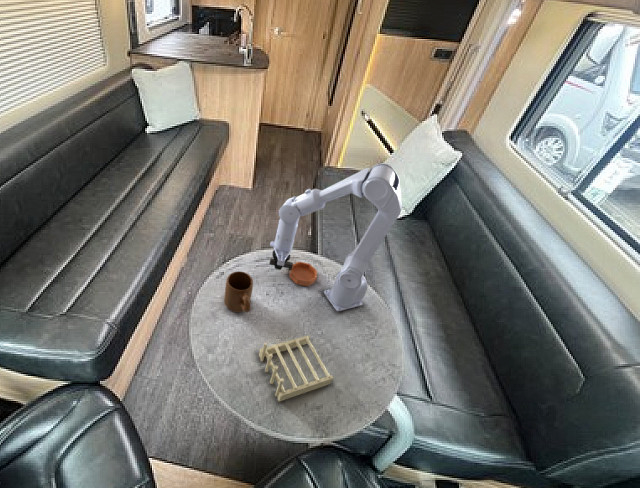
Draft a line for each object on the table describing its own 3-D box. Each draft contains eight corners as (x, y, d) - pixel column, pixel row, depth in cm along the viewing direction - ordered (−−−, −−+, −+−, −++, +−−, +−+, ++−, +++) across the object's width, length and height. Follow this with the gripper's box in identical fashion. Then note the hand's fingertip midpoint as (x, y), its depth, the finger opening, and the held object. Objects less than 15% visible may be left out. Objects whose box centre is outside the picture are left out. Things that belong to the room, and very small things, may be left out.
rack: (306, 341, 87) (312, 325, 83) (330, 383, 78) (338, 368, 74) (257, 355, 82) (261, 339, 78) (278, 402, 73) (283, 386, 69)
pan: (315, 269, 110) (318, 259, 107) (315, 288, 103) (319, 278, 100) (269, 260, 111) (271, 250, 108) (266, 278, 104) (269, 268, 101)
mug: (258, 323, 90) (263, 301, 84) (232, 328, 87) (235, 306, 82) (244, 290, 99) (248, 269, 93) (221, 295, 97) (223, 272, 91)
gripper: (274, 218, 104) (268, 250, 112) (270, 247, 93) (263, 279, 101) (296, 222, 104) (288, 254, 112) (294, 251, 92) (286, 284, 100)
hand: (278, 266), depth 106 cm, fingers closed on pan
